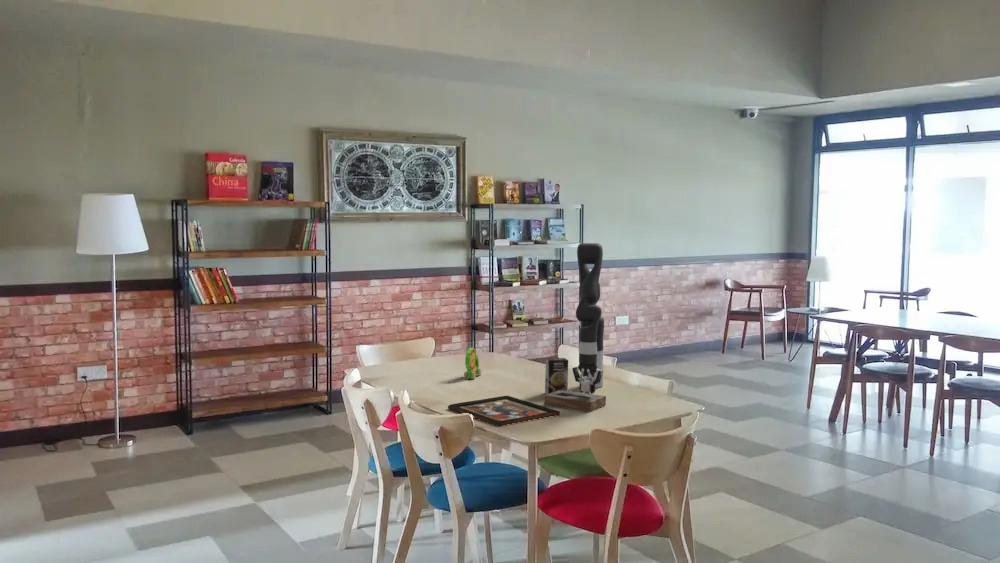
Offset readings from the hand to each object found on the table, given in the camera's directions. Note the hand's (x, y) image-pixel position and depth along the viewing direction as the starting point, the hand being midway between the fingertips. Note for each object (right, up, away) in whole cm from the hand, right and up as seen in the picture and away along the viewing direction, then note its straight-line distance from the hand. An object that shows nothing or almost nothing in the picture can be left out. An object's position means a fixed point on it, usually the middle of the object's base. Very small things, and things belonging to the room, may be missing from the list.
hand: (587, 392), depth 341 cm
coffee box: (-11, -4, +25) cm, 27 cm away
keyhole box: (-5, -6, +4) cm, 8 cm away
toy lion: (-50, -1, +61) cm, 79 cm away
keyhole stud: (0, -5, 0) cm, 5 cm away
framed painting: (-35, -7, -10) cm, 37 cm away
